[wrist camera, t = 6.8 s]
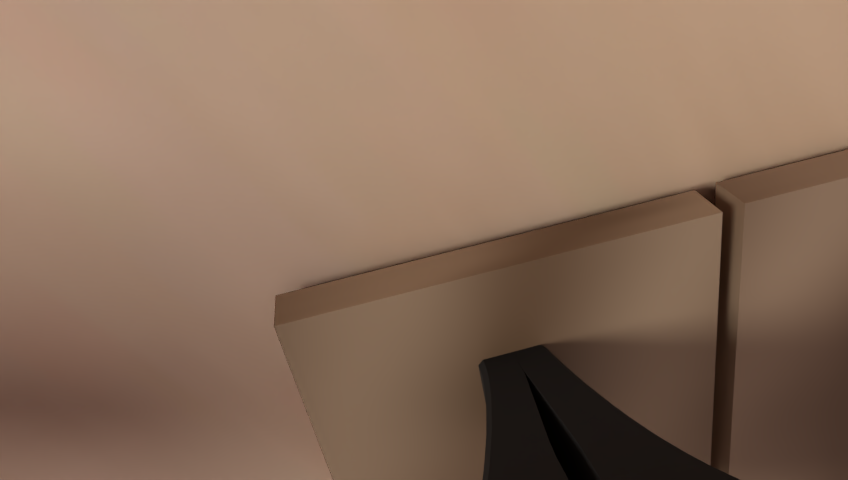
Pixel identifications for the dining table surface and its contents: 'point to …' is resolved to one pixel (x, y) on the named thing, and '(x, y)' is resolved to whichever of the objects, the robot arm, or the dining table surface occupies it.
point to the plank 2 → (783, 323)
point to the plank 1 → (511, 337)
